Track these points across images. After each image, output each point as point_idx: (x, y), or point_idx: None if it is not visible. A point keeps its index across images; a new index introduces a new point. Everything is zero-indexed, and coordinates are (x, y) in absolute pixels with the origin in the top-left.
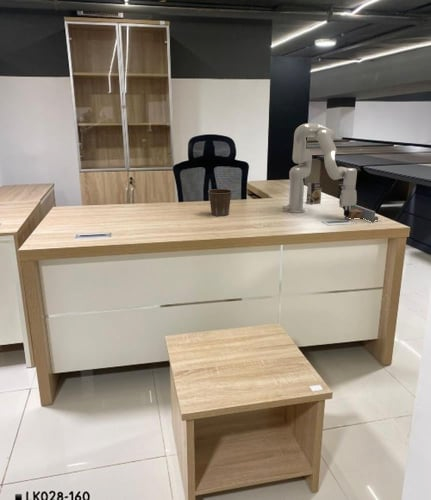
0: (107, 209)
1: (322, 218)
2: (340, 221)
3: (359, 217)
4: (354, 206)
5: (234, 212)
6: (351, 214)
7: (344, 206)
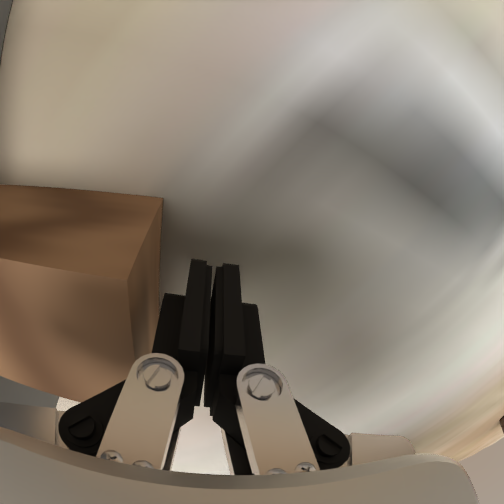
0: None
1: (413, 349)
2: (399, 178)
3: (15, 195)
4: (2, 406)
5: (488, 425)
6: (139, 247)
7: (317, 466)
